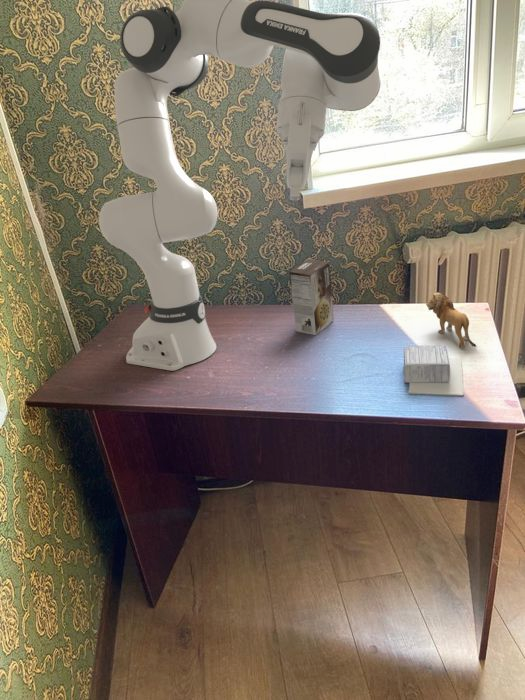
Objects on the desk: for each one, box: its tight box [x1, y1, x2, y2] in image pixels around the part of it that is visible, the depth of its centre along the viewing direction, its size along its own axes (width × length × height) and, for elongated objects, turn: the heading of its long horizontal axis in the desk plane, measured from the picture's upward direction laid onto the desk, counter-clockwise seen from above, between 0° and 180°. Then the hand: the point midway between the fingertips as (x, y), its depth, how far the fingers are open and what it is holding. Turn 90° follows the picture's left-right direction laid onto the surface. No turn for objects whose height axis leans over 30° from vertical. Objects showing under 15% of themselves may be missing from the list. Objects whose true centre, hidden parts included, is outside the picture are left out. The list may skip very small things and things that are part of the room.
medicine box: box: [403, 344, 450, 384], centre depth 109 cm, size 8×4×9 cm
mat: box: [408, 357, 464, 397], centre depth 109 cm, size 10×14×1 cm
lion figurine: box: [425, 292, 477, 348], centre depth 121 cm, size 15×5×9 cm, turn 24°
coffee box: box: [288, 259, 335, 336], centre depth 133 cm, size 9×6×16 cm
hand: (294, 198), depth 99 cm, fingers closed
